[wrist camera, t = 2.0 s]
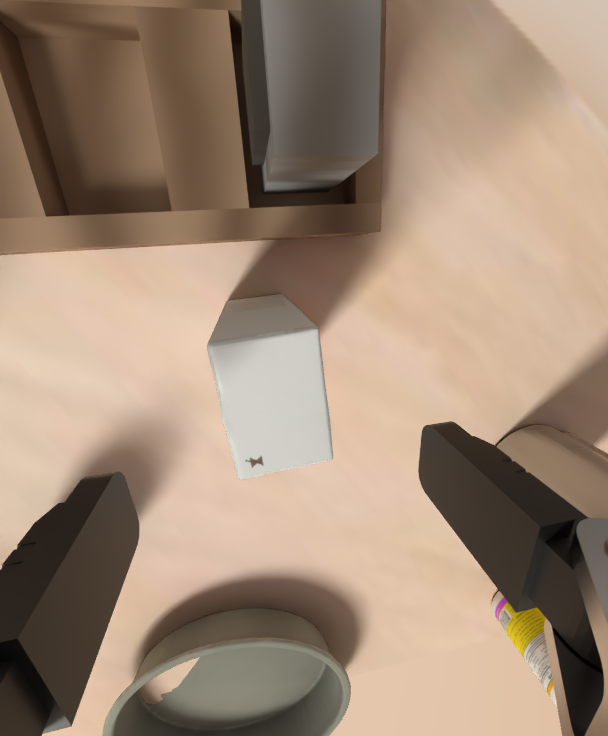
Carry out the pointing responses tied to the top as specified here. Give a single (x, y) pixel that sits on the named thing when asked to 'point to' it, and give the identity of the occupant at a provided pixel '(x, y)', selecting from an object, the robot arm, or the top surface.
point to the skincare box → (270, 386)
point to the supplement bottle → (527, 638)
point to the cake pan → (239, 680)
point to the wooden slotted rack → (188, 121)
